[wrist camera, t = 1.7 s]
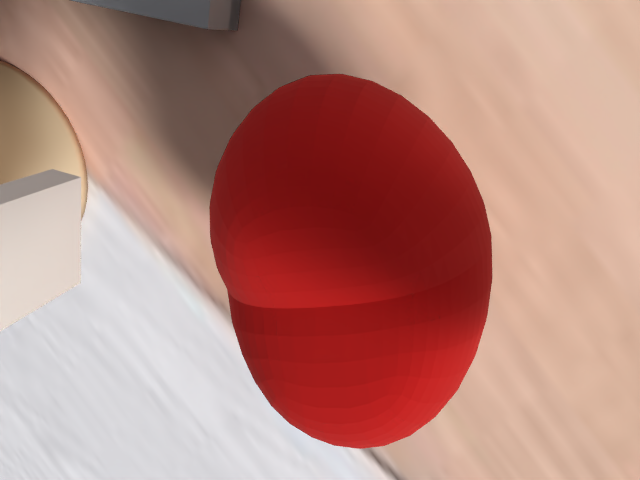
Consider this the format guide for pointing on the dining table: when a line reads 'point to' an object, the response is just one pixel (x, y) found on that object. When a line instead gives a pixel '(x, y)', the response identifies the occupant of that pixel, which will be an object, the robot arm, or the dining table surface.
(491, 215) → the dining table surface
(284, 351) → the red rounded piece
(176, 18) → the socket dish
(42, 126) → the cork coaster
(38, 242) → the robot arm
